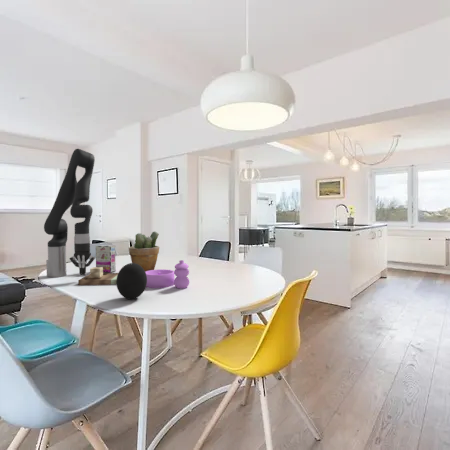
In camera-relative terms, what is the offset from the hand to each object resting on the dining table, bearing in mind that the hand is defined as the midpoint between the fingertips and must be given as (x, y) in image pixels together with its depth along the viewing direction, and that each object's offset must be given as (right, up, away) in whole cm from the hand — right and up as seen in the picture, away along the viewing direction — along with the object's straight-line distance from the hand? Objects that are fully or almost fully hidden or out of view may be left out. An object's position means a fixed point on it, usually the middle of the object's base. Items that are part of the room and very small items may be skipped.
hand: (82, 274), depth 161 cm
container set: (+47, -4, -9) cm, 48 cm away
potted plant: (+26, -3, +26) cm, 37 cm away
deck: (+13, -4, +1) cm, 14 cm away
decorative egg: (+36, -5, -33) cm, 49 cm away
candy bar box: (+1, -3, +27) cm, 28 cm away
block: (+7, -1, +1) cm, 7 cm away
